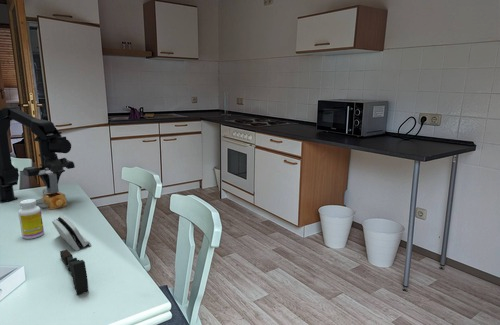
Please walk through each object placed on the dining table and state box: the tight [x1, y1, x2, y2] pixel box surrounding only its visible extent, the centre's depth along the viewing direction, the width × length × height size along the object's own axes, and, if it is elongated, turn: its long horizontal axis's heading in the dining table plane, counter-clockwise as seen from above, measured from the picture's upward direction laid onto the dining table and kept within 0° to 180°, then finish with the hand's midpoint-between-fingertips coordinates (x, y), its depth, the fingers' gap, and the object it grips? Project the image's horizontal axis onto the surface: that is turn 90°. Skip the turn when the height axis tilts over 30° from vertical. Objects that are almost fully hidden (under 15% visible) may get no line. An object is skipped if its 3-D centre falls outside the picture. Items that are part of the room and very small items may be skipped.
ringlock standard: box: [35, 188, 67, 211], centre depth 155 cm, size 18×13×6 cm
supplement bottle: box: [18, 198, 45, 240], centre depth 124 cm, size 7×7×13 cm
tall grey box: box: [46, 172, 60, 194], centre depth 152 cm, size 4×3×8 cm
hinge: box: [51, 215, 92, 252], centre depth 119 cm, size 17×5×10 cm, turn 44°
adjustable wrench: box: [59, 249, 89, 296], centre depth 100 cm, size 8×3×25 cm
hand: (52, 187), depth 152 cm, fingers closed on tall grey box, 3 cm apart
